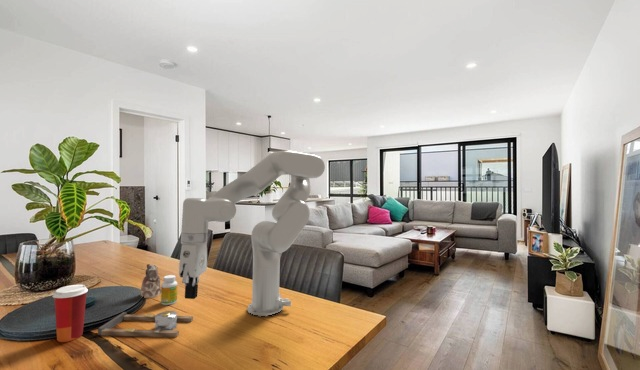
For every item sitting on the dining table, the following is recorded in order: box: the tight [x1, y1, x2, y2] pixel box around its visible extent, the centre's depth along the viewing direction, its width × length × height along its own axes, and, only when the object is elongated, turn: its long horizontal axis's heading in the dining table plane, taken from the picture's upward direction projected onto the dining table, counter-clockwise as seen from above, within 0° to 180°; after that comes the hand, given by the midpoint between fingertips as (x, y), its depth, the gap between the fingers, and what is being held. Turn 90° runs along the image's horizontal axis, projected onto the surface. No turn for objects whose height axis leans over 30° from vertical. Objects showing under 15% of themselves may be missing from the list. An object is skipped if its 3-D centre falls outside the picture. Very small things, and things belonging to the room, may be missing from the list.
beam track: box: [97, 311, 194, 338], centre depth 91 cm, size 23×11×2 cm, turn 89°
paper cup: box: [51, 284, 89, 343], centre depth 85 cm, size 8×8×14 cm
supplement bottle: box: [160, 274, 178, 306], centre depth 110 cm, size 5×5×10 cm
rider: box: [154, 310, 178, 330], centre depth 91 cm, size 6×6×4 cm
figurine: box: [140, 263, 162, 299], centre depth 117 cm, size 7×7×12 cm
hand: (190, 297), depth 91 cm, fingers closed
